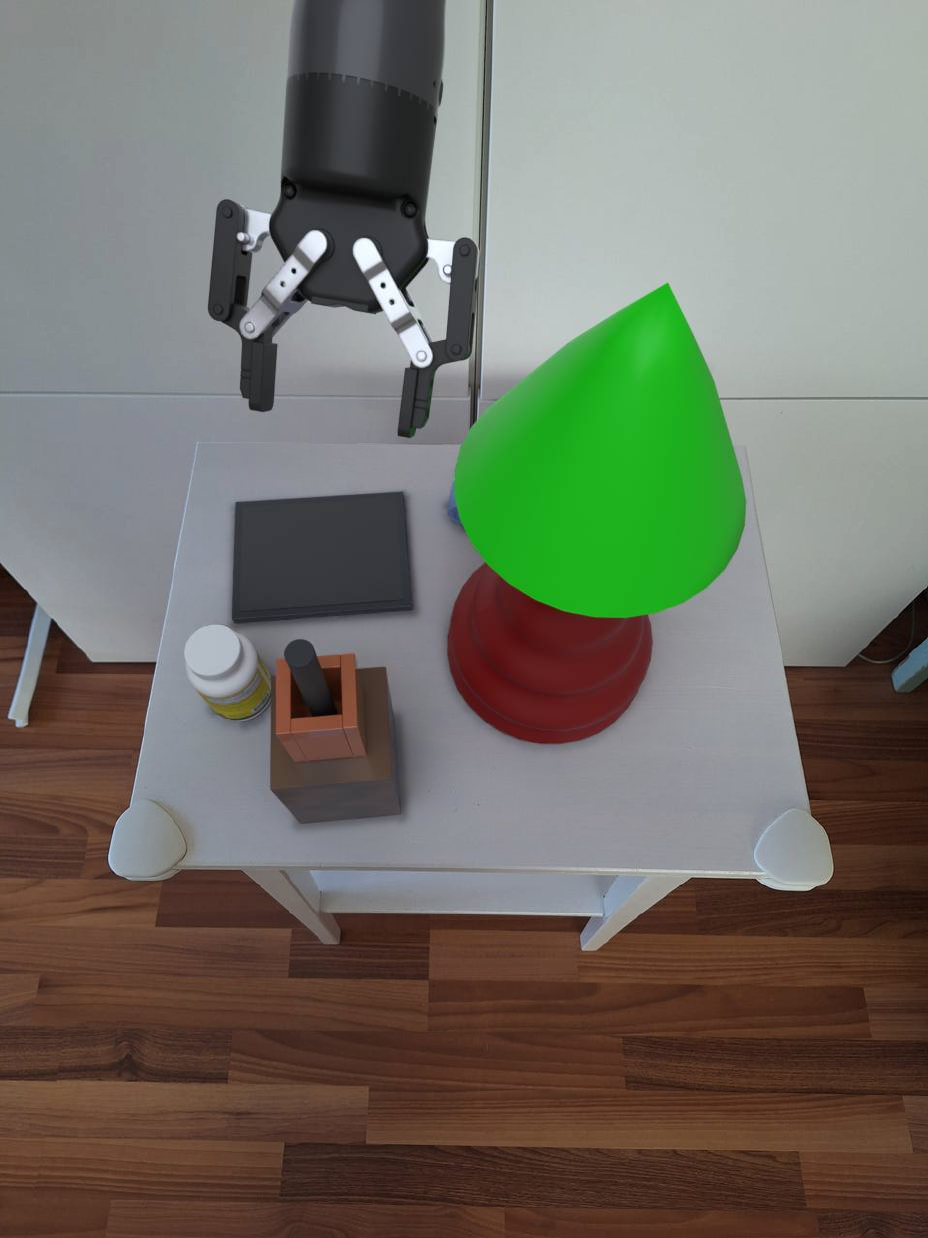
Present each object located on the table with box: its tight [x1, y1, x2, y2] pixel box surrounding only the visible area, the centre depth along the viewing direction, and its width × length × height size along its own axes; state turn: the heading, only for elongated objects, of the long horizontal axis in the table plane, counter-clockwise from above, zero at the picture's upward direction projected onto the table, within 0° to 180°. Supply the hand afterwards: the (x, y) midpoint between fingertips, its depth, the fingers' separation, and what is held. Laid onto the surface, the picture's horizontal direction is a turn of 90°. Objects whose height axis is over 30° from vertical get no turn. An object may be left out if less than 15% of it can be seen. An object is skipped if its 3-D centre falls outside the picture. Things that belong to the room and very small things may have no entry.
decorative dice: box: [447, 480, 463, 526], centre depth 82 cm, size 4×4×4 cm
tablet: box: [231, 491, 413, 624], centre depth 80 cm, size 18×14×1 cm
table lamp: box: [446, 282, 747, 745], centre depth 57 cm, size 20×20×45 cm
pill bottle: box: [183, 624, 272, 723], centre depth 69 cm, size 6×6×11 cm
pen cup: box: [275, 652, 367, 763], centre depth 55 cm, size 5×5×8 cm
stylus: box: [283, 638, 339, 717], centre depth 52 cm, size 2×2×14 cm
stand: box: [269, 666, 401, 825], centre depth 65 cm, size 9×9×14 cm
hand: (333, 423), depth 44 cm, fingers open, 8 cm apart
